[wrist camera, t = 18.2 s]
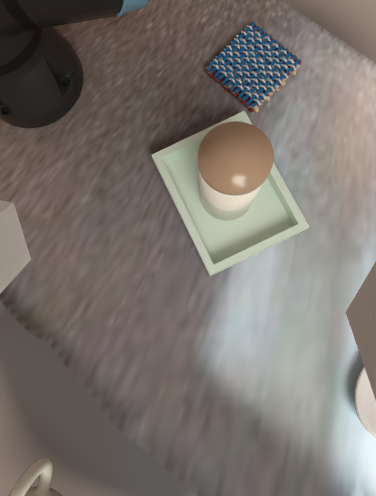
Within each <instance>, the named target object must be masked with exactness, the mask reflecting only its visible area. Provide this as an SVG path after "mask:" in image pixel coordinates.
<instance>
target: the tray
mask: <svg viewBox="0 0 376 496" xmlns="http://www.w3.org/2000/svg"><path fill="white" fill-rule="evenodd" d="M233 121H238V122H245V123H248V124H251V125H252V123H251V121H250V120H249V118H248V116H247V114H246V112H245V111H243V112H240V113H238V114H236V115H234V116H232V117H230V118H228V119H226V120H224V121H221V122H219V123H217V124H215V125H213V126H211V127H209V128H207V129H205V130H203V131H200V132H198V133H196V134H194V135H192V136H190V137H188V138H186V139H184V140H181V141H179V142H177V143H175V144H173V145H171V146H169V147H167V148H165V149H163V150H160V151H158V152H156V153H154V154H152V158H153V161H154V163H155V165H156V167H157V169H158V171H159V173H160V175H161V177H162V179H163V182H164V184H165V186H166V188H167V190H168V192H169V194H170V196H171V198H172V200H173V202H174V204H175V206H176V208H177V210H178V212H179V214H180V216H181V218H182V221H183V223H184V225H185V227H186V229H187V231H188V233H189V235H190V237H191V239H192V241H193V243H194V245H195V247H196V249H197V251H198V253H199V255H200V257H201V260H202V262H203V264H204V266H205V268H206V270H207V272H208V274H209V276H211V275H214V274H216V273H218V272H220V271H222V270H224V269H226V268H228V267H230V266H232V265H234V264H236V263H238V262H240V261H243V260H245V259H247V258H249V257H251V256H253V255H255V254H257V253H259V252H261V251H263V250H265V249H267V248H270V247H272V246H274V245H276V244H278V243H280V242H282V241H284V240H286V239H288V238H290V237H292V236H294V235H296V234H299V233H301V232H303V231H304V230H306V229H308V228H309V225H308V224H307V222H306V220H305V218H304V216H303V215H302V213H301V211H300V209H299V207H298V206H297V204H296V202H295V200H294V199H293V197H292V195H291V193H290V191H289V190H288V188H287V186H286V184H285V182H284V181H283V179H282V177H281V175H280V173H279V172H278V170H277V168H276V166H275V164H274V163H273V166H272V169H271V171H270V173H269V175H268V177H267V179H266V180H265V181H264V183H263V184H262V186H261V188H260V190H259V192H258V193H257V195H256V197H255V199H254V201H253V203H252V205H251V206H250V208H249V210H248V211H247V212H246V213H245V214H244V215H243V216H241V217H240V218H237V219H235V220H230V221H223V220H219V219H216V218H214V217H212V216H211V215H209V214H208V213H207V212H206V210H205V209H204V207H203V206H202V203H201V199H200V179H199V168H198V150H199V146H200V144H201V141H202V140H203V138H204V137H205V136H206V134H207V133H208V132H209V131H210V130H212V129H213V128H214V127H216V126H218V125H220V124H223V123H227V122H233Z"/></svg>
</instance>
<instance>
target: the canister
mask: <svg viewBox="0 0 376 496" xmlns="http://www.w3.org/2000/svg"><path fill="white" fill-rule="evenodd" d="M273 160H274V153H273V148H272V145H271V143H270V141H269V139H268V138H267V136H266V135H265V134H264V133H263V132H262V131H261V130H260V129H258V128H257V127H255V126H253V125H251V124H248V123H245V122H238V121H233V122H227V123H223V124H220V125H218V126H216V127H214V128H213V129H212V130H210V131H209V132H208V133H207V134H206V136H205V137H204V138H203V140H202V141H201V144H200V146H199V150H198V168H199V179H200V199H201V203H202V206H203V207H204V209H205V210H206V212H207V213H208V214H209V215H211V216H212V217H214V218H216V219H219V220H223V221H230V220H235V219H237V218H240V217H241V216H243V215H244V214H245V213H246V212H247V211H248V210H249V208H250V206H251V205H252V203H253V201H254V199H255V197H256V195H257V193H258V192H259V190H260V188H261V186H262V184H263V183H264V181H265V180H266V179H267V177H268V175H269V173H270V171H271V169H272V166H273Z"/></svg>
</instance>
